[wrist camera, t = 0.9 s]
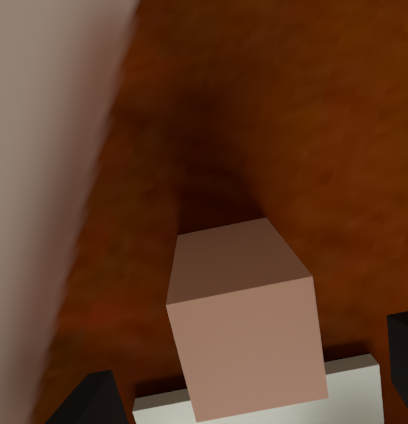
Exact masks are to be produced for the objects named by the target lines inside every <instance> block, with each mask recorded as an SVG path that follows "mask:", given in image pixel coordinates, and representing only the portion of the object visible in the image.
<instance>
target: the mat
mask: <svg viewBox="0 0 408 424" xmlns="http://www.w3.org/2000/svg"><path fill="white" fill-rule="evenodd" d="M324 367H325V374H326V382H327V389H328V397H329V398H326V399H321V400H315V401H310V402H304V403H299V404H294V405H288V406H283V407H278V408H272V409H267V410H262V411H256V412H251V413H245V414H240V415H235V416H229V417H224V418H219V419H213V420H208V421H202V422H197V423H196V419H195V415H194V411H193V408H192V404H191V400H190V396H189V392H188V389H182V390H177V391H172V392H167V393H161V394H156V395H151V396H146V397H140V398H135V403H134V407H133V415H134V418H135V421H136V424H384V416H383V404H382V392H381V381H380V369H379V364H378V363H377V361H376V360H375V359H374V357H373V356H372V355H371V354H365V355H360V356H355V357H350V358H345V359H339V360H334V361H329V362H324Z"/></svg>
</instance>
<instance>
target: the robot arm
mask: <svg viewBox="0 0 408 424" xmlns="http://www.w3.org/2000/svg"><path fill="white" fill-rule="evenodd" d="M387 325H388V338H389V352H390V365H391V379H392V383H393V385H394V386H395V388H396V390H397V391H398V393H399V395H400V396H401V398H402V400H403V401H404V403H405V405H406V406H407V408H408V311H406V312H401V313H396V314H391V315H387ZM45 424H129V423H128V420H127V417H126V414H125V411H124V408H123V405H122V401H121V398H120V395H119V392H118V389H117V386H116V383H115V380H114V377H113V374H112V371H111V370H107V371H102V372H96V373H91V374H88V375H87V376H86V377H85V378H84V379H83V380H82V381H81V383H80V384H79V385H78V386H77V387H76V388H75V389H74V390H73V392H72V393H71V394H70V395H69V396H68V397H67V398H66V400H65V401H64V402H63V403H62V404H61V405H60V407H59V408H58V409H57V410H56V411H55V412H54V414H53V415H52V416H51V417H50V418H49V419H48V420H47V422H46V423H45Z"/></svg>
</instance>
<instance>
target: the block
mask: <svg viewBox="0 0 408 424" xmlns="http://www.w3.org/2000/svg"><path fill="white" fill-rule="evenodd" d="M166 308H167V312H168V315H169V319H170V323H171V327H172V331H173V335H174V338H175V342H176V346H177V350H178V354H179V358H180V362H181V365H182V369H183V373H184V377H185V381H186V385H187V388H188V392H189V396H190V400H191V404H192V408H193V411H194V415H195V419H196V423H197V422H202V421H208V420H213V419H219V418H224V417H229V416H235V415H240V414H245V413H251V412H256V411H262V410H267V409H272V408H278V407H283V406H288V405H294V404H299V403H304V402H310V401H315V400H321V399H326V398H329V397H328V389H327V382H326V374H325V367H324V359H323V352H322V344H321V337H320V329H319V322H318V314H317V307H316V299H315V292H314V284H313V276H312V275H311V274H310V273H309V271H308V270H307V269H306V267H305V266H304V265H303V264H302V262H301V261H300V260H299V259H298V257H297V256H296V255H295V253H294V252H293V251H292V250H291V248H290V247H289V246H288V245H287V243H286V242H285V241H284V239H283V238H282V237H281V236H280V234H279V233H278V232H277V231H276V229H275V228H274V227H273V225H272V224H271V223H270V222H269V220H268V219H267V218H261V219H256V220H251V221H246V222H241V223H236V224H231V225H227V226H222V227H217V228H212V229H207V230H202V231H197V232H192V233H187V234H182V235H178V237H177V243H176V249H175V255H174V261H173V266H172V272H171V278H170V284H169V290H168V295H167V301H166Z"/></svg>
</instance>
